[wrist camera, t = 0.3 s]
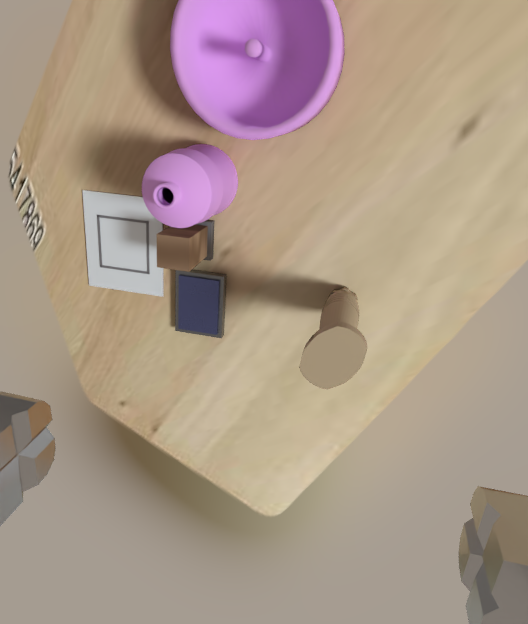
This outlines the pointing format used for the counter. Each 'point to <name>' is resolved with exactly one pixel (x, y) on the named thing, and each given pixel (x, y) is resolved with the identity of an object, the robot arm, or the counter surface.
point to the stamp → (185, 246)
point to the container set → (241, 90)
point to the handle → (335, 343)
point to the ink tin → (200, 302)
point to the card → (122, 243)
